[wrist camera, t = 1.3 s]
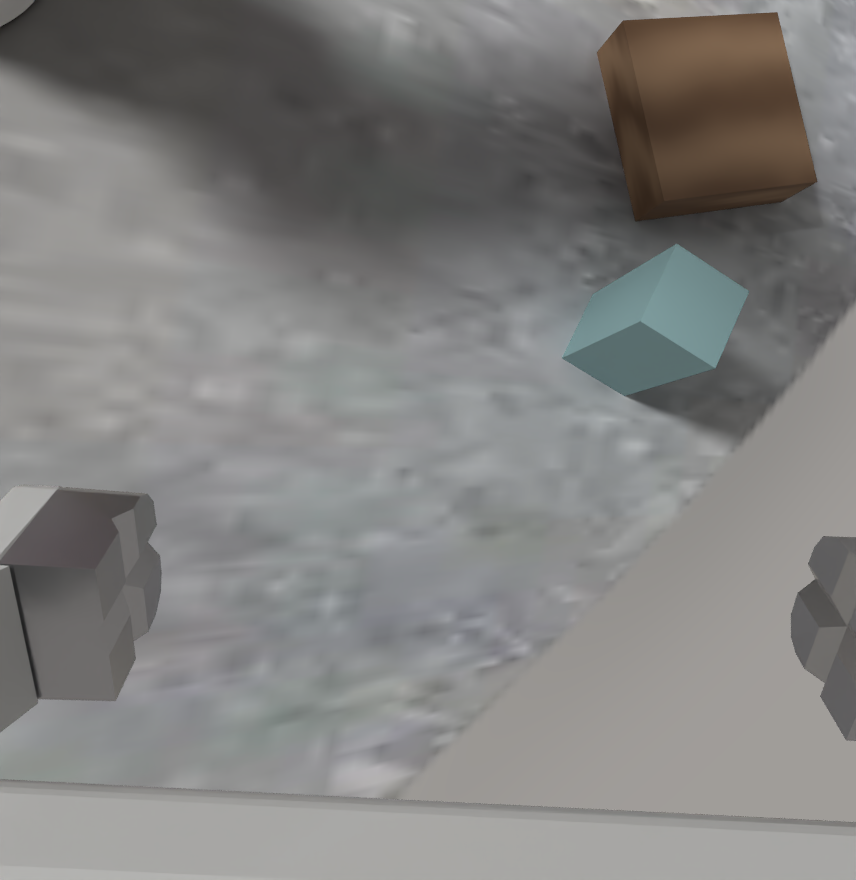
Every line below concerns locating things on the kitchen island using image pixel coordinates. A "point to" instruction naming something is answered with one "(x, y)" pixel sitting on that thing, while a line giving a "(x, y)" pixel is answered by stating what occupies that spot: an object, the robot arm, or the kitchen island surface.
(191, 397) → the kitchen island surface
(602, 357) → the teal block
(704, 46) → the walnut block
